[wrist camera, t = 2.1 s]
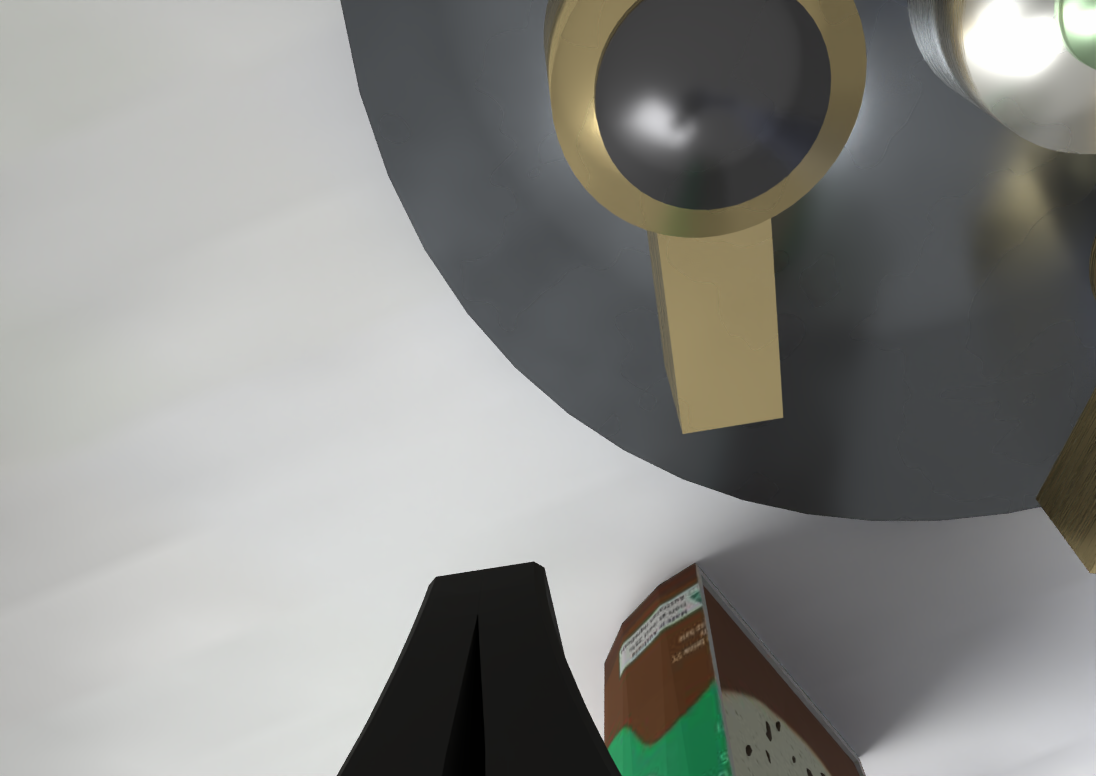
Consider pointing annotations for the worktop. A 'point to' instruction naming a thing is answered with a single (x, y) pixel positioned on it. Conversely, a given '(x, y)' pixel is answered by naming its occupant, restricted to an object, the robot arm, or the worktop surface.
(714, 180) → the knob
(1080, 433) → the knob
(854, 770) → the food container
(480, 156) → the tribrach plate
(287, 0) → the worktop surface
